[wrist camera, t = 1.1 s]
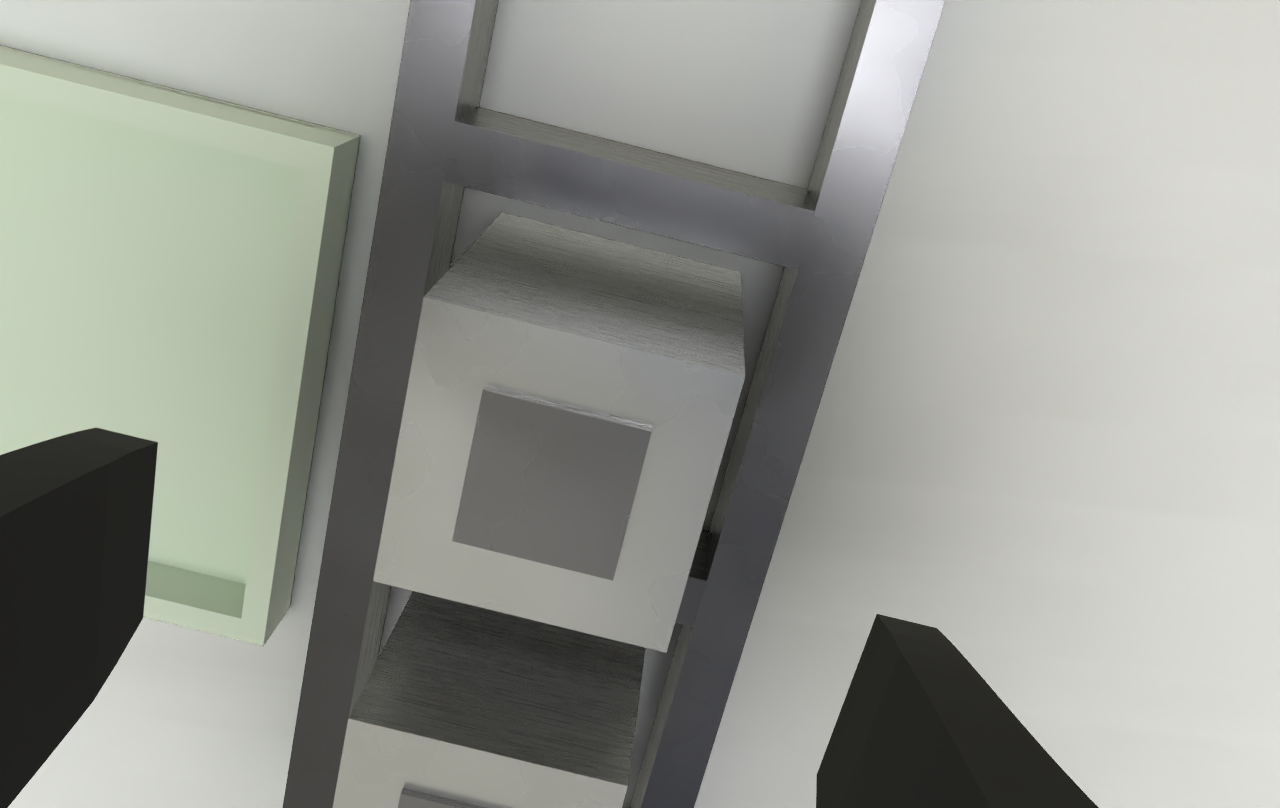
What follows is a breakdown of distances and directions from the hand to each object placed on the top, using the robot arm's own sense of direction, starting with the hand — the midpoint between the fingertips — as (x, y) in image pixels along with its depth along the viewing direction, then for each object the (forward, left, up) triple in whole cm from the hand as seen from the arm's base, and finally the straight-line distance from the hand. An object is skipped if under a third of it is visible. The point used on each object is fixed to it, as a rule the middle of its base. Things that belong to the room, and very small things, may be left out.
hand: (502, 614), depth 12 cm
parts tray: (-3, +10, -11) cm, 15 cm away
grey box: (-1, 0, -11) cm, 11 cm away
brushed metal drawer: (-8, 0, -11) cm, 14 cm away
